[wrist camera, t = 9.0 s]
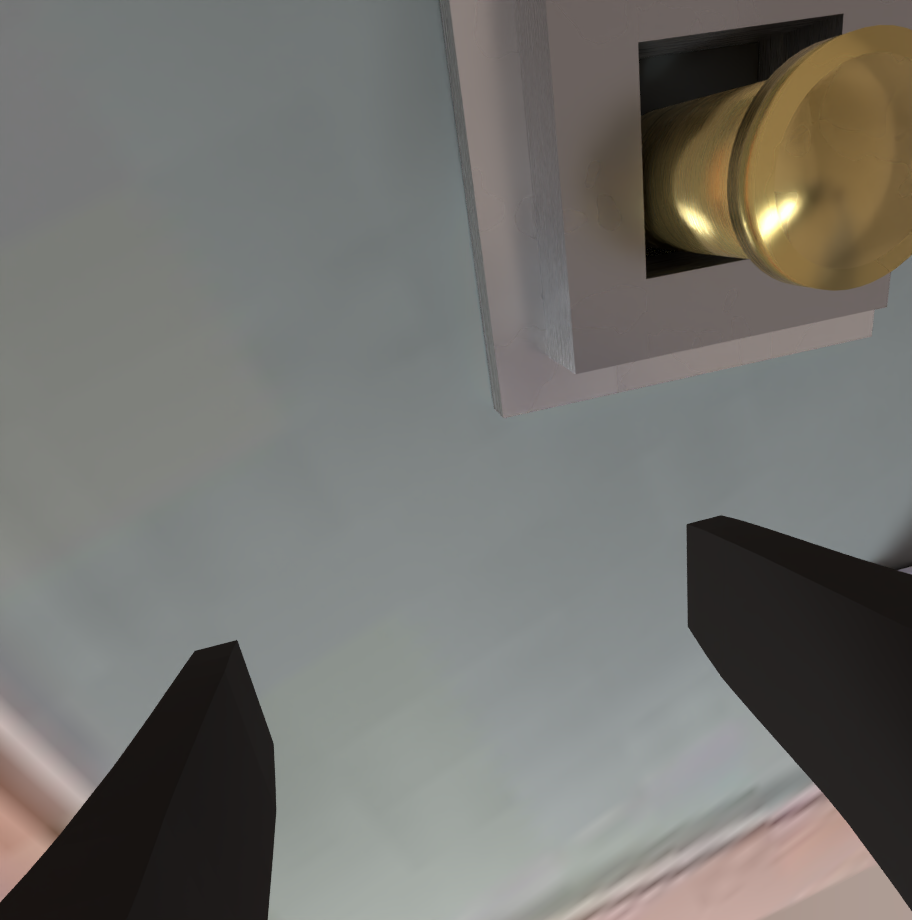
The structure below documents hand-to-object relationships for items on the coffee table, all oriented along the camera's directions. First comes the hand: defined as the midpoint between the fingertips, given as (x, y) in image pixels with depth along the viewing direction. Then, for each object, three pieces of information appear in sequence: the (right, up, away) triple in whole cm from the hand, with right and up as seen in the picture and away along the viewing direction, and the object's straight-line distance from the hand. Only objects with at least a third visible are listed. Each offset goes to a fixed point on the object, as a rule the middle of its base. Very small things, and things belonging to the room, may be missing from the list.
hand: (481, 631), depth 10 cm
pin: (+5, +10, +8) cm, 14 cm away
